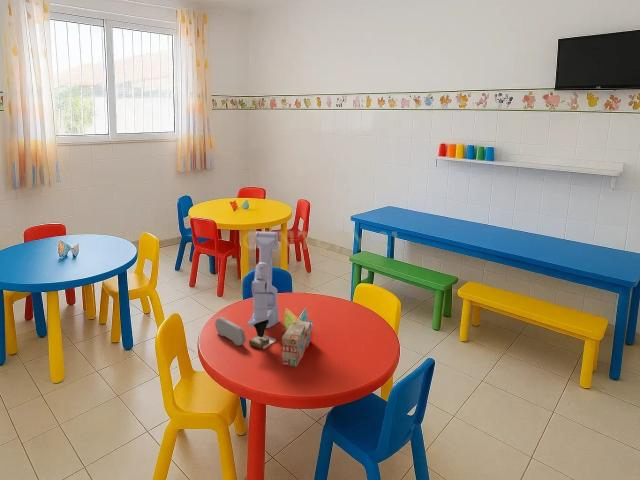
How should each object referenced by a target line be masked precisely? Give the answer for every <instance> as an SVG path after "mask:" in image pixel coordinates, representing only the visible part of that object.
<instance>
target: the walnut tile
mask: <svg viewBox="0 0 640 480" xmlns="http://www.w3.org/2000/svg"><path fill="white" fill-rule="evenodd" d="M268 343H269V338H266V337H259V336H258V335H255V336H254V337H252V338H250V339H249V340H248V345H250V346H252V347H255V348H257V349H263V348H262V347H264V346H265V345H267V344H268Z"/></svg>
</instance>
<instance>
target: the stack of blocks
mask: <svg viewBox="0 0 640 480" xmlns="http://www.w3.org/2000/svg"><path fill="white" fill-rule="evenodd" d="M311 325H312V323H311V321H310V322H309V321H302V320H296V321H295V323H290V325H289V327H288V328H287V330H286V331H285V333H284V334H283V335H282V337H281V344H282V345H281V365H283V366H290V367H294V368H295V367H296V368H297V367H298V365H299V363H300V361H301V360H302V358H303V357H304V354H305V351H306V350H307V349H308V347H309V345H310V343H311V336H312V335H311V333H312V330H311Z"/></svg>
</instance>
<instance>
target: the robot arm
mask: <svg viewBox="0 0 640 480" xmlns="http://www.w3.org/2000/svg"><path fill="white" fill-rule="evenodd" d="M254 243H255V245H256V248H257V249H258V250H259V252H258V253H259V254H258V255H259V257H258V263H257V264H256V265H255V270H254V278H253V280H252V282H251V293H252V298H253V303H252V305H253V313H252V314H251V318H250V319H249V321H248V322H247V327H248V328H253V327H254V328H255V330H256V331H255V332H256V334H257V335H258V336H259V337H263V335H265V332H266V329H270V328H271V327H273V326H275V325H276V324H278V323H280V322H281V319H279V318H280V315H279V314H280V311H279V310H280V309H279V305H278V289H277V288H276V287H275V286H274V285H272V282H273V253H274V251H275V250H278V248H279V233H278V231H259V230H257V231H255V236H254ZM257 335H256V336H257Z"/></svg>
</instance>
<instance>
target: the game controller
mask: <svg viewBox="0 0 640 480" xmlns="http://www.w3.org/2000/svg"><path fill="white" fill-rule="evenodd" d="M214 326H215V329H216V330H215V331H216V332H217V334H218V335H219V336H220V337H221V336H222V337H226V338H227V339H229V340H231V341H232V342H233V344H234V345H235V346H238V347H240V346H242V345H244V344H245V343H246V339H247V337H246V333H245V331H244V330H243V328H242V327H241V326H239V325H237V324H236V323H234V322H232V321H231V320H228V319H227V318H225V317H224V316H221V317H218V318H216V320H215V325H214Z"/></svg>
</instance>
